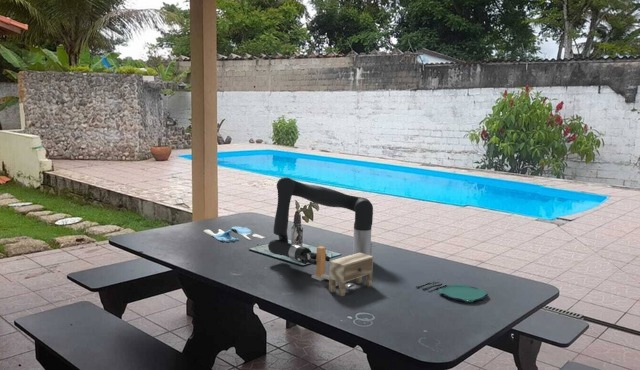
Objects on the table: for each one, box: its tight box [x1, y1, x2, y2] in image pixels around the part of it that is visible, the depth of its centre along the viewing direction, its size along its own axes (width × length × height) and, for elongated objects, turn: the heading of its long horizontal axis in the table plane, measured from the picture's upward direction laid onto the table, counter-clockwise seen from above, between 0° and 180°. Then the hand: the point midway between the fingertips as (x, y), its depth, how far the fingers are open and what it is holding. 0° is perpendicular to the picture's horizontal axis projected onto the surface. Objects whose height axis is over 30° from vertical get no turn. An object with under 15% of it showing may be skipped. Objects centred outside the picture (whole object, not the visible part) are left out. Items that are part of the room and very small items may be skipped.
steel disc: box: [345, 282, 357, 292], centre depth 243 cm, size 5×5×2 cm
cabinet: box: [328, 253, 374, 297], centre depth 241 cm, size 10×20×14 cm, turn 134°
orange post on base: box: [311, 245, 347, 287], centre depth 252 cm, size 16×8×15 cm, turn 44°
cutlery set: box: [415, 281, 489, 303], centre depth 241 cm, size 20×30×2 cm, turn 45°
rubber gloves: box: [203, 225, 266, 243], centre depth 332 cm, size 27×33×6 cm
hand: (322, 261), depth 255 cm, fingers open, 8 cm apart
